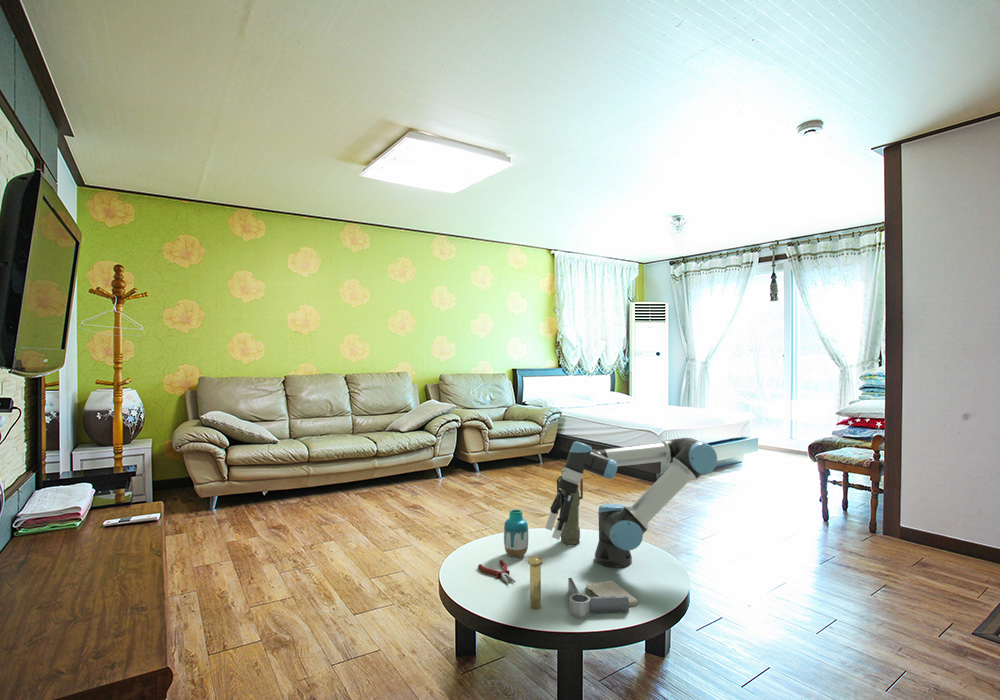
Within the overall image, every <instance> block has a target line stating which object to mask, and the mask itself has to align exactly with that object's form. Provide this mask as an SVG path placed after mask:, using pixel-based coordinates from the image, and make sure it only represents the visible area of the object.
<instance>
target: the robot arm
mask: <svg viewBox="0 0 1000 700" xmlns="http://www.w3.org/2000/svg"><path fill="white" fill-rule="evenodd" d="M662 462H664V463H665V464H671V466H670V467H669V468H668V469H667V470H666V471H665V472H664V473H663V474H661V476H660V477H659V478H658V479H657V480H656V481H655V482H654V483H653V484H652V485H651V486H650V487H649V488H648V489H647V490H646V491H645V492H644V493H643V494H642V495H641V496H640V497H639V498H638V499H637V500H636V501H635V502H634V503H633V504H632V505H631V506H626V505H623V504H617V503H607V504H601V505H600V506H599V507H598V513H597V514H598V542H597V545H596V550H595V552H594V560H595V562H596V563H597V564H599V565H602V566H605V567H609V566H610V568H611V567H613V568H622V567H627V566H629V565H631V564H632V563H633V559H632V558H633V557H632V553H631V551H632V550H633V551H634V550H636V549H637V548H638V547H639V546H640V545H641V543H642V542H643V535H644V534H645V533H646V532H647V530H649V529H648V528H649V527H648V526H649V525H648V524H649V522H651V521H652V519H654V518H655V516H657V514H658V513H660V511H661V510H662V509H663V508H665V506H666V505H668V503H669V502H670V501H671V500H673V498H674V497H675V496H676V495H677V494H678V493H679V492H680V491H682V489H683V488H684V487H685V486H686V485H687V484H688V482H690V481H696V480H698V478H700V477H701V476H702V475H703V474H704V475H705V474H709V473H711V472H712V471H714V470H715V468H716V466H717V464H718V455H717V452H716V450H715V448H714V447H713V446H711V445H710V444H709V443H707V442H705V441H703V440H702V441H701V440H697V439H694V438H692V437H681V438H674V439H668V440H667V439H666V440H662V441H661V443H654V444H644V445H643V444H642V445H634V446H626V447H616V448H615V447H614V448H605V449H592V446H591V445H588V444H585V443H583V442H580V441H577V440H576V441H575V440H574V442H572V445H571V447H570V450H569V452H568V455H567V459H566V462H565V465H564V466H565V467H564V466H563V467H564V469H563V468H562V469H561V474H562V477H563V478H561V479H560V480H559V484H558V487H559V491H558V493H556V495H555V498H554V500H553V501H552V504H551V506H550V508H549V509H550V513H549V516H548V519H547V522H546V524H545V527H544V528H545V529H546V530H549V531H553V533H552V536H551V538H554V539H555V540H561V533H562V530H563V527H564V524H565V522H567V521H568V516H569V511H570V506H571V502H572V499H573V497H572V496H570V495H571V493H574V494H575V493H576V492H577V489H578V490H579V484H580V481H581V478H582V479H583V474H584V471H587V472H590V473H592V474H596V475H597V476H601V477H602V478H605V479H609V480H612V479H613V478H614V477H616V473H617V471H618V467H624V466H633V465H642V464H643V465H644V464H652V463H662ZM562 471H563V473H562ZM561 489H562V490H561ZM558 515H559V517H557V516H558ZM555 522H556V523H555ZM554 524H555V527H554ZM553 529H554V530H553Z"/></svg>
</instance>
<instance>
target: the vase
mask: <svg viewBox="0 0 1000 700" xmlns="http://www.w3.org/2000/svg"><path fill="white" fill-rule="evenodd" d="M503 544H504V545H503V546H504V550H505V552H506V554H507V555H508V556H510V557H514V558H519V557H522V556H525V554H527V552H528V548H529V526H528V522H527V520H526V519H525V518H524V516H523V510H521V509H517V508H516V509H515V508H514V509H511V510H509V518H507V519H506V520H505V521H504V527H503Z"/></svg>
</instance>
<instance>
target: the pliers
mask: <svg viewBox="0 0 1000 700" xmlns="http://www.w3.org/2000/svg"><path fill="white" fill-rule="evenodd" d="M498 564H500V566H501V567H502V568H503V567H504V568H503V569H502V571H503V572H502V571H501V570H496V569H493V568H489V567H485V566H484V565H483V564H482V563H479V564H478V566H477V568H478V571H480V572H481V573H482V574H484V573H485V574H484V575H488V576H492V577H495V579H496V580H497V579H501V580H502V581H503V582H504V583H506V584H508V585H509V584H510V582H513V583H516V580H515V579H514V578H513V577H512V576H511V575H510V573H511V572H510V570H508V565H507V563H506V562H505V561H504V560H503V559H502V560H501V559H500V560H499V561H498Z"/></svg>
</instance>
